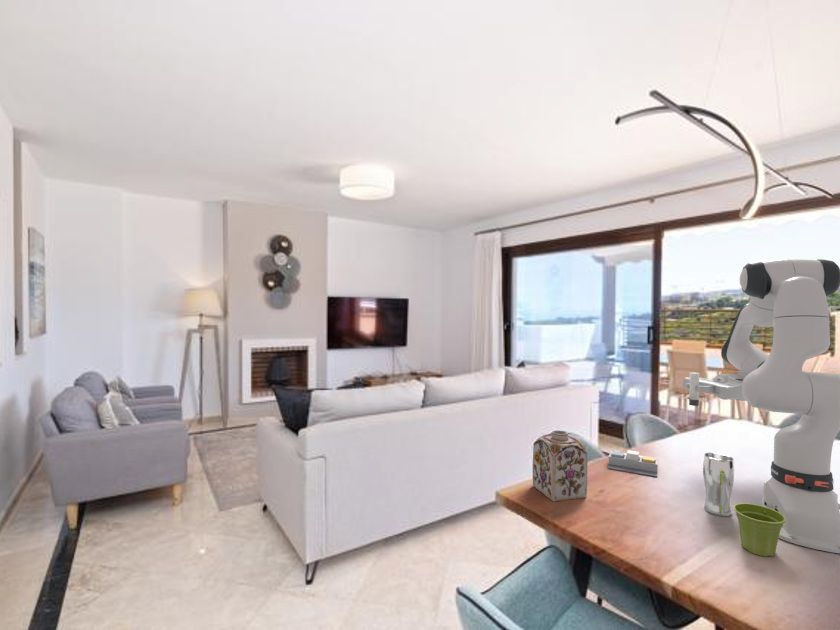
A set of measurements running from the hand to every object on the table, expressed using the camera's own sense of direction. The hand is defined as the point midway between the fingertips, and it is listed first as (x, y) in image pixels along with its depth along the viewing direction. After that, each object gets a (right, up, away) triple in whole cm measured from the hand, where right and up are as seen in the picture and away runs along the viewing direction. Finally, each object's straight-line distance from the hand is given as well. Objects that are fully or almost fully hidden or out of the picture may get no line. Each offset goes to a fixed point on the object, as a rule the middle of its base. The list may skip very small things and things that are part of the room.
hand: (691, 387), depth 149 cm
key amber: (-15, -27, -1) cm, 31 cm away
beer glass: (-13, -29, -31) cm, 44 cm away
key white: (-19, -26, +2) cm, 32 cm away
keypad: (-20, -28, +2) cm, 34 cm away
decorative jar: (-52, -28, -19) cm, 62 cm away
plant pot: (-16, -29, -50) cm, 60 cm away
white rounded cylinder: (+1, -6, 0) cm, 6 cm away
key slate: (-24, -27, +4) cm, 36 cm away
